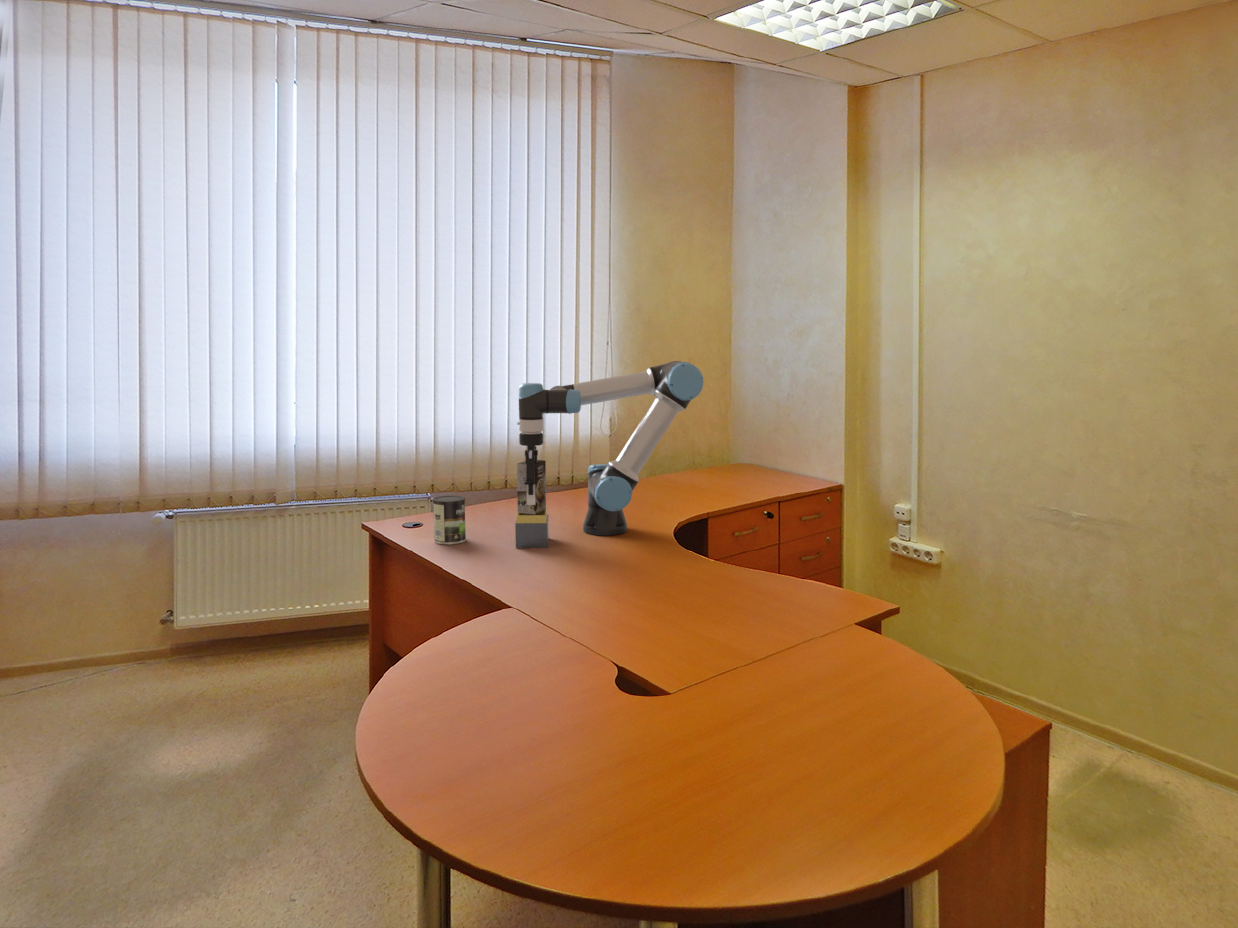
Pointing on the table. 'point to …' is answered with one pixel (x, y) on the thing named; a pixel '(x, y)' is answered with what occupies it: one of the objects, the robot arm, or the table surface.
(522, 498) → the coffee box
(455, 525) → the coffee can
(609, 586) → the table surface
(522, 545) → the grey yellow open box
